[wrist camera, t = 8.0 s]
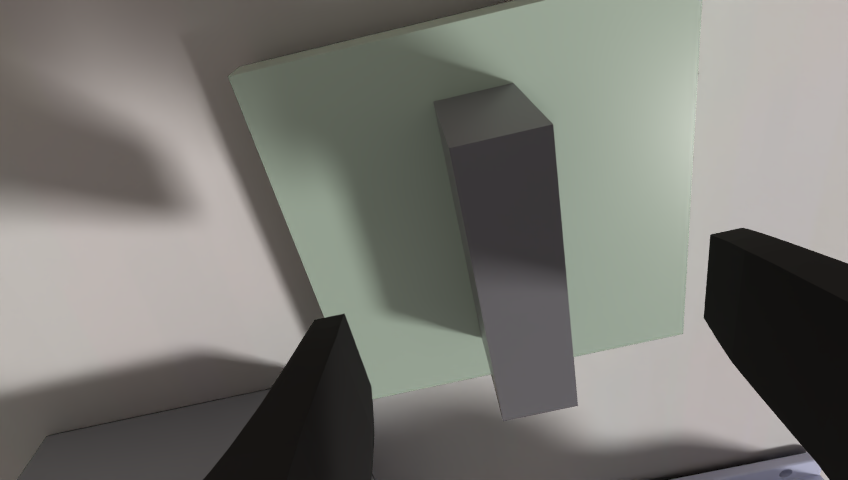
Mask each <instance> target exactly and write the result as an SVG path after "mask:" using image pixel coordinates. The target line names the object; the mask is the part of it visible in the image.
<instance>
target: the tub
mask: <svg viewBox="0 0 848 480" xmlns="http://www.w3.org/2000/svg"><path fill="white" fill-rule="evenodd" d="M269 391H270V389H268V390H264V391H259V392H254V393H249V394H245V395H240V396H235V397H230V398H226V399H221V400H216V401H211V402H207V403H202V404H197V405H192V406H188V407H183V408H178V409H174V410H169V411H164V412H159V413H155V414H150V415H145V416H140V417H136V418H131V419H126V420H121V421H117V422H112V423H107V424H103V425H98V426H93V427H88V428H84V429H79V430H74V431H69V432H65V433H60V434H55V435H50V436H47V437H46V438H45V439H44V441H43V442H42V444H41V445H40V447H39V448H38V450H37V451H36V453H35V454H34V456H33V457H32V459H31V460H30V462H29V463H28V464H27V466H26V467H25V469H24V470H23V472H22V473H21V475H20V476H19V478H18V479H17V480H203V479H204V478H205V477H206V475H207V474H208V473H209V472H210V471H211V470H212V468H213V467H214V466H215V465H216V463H217V462H218V461H219V460H220V458H221V457H222V456H223V455H224V453H225V452H226V451H227V450H228V448H229V447H230V446H231V444H232V443H233V442H234V440H235V439H236V438H237V436H238V435H239V433H240V432H241V431H242V429H243V428H244V427H245V425H246V424H247V422H248V421H249V420H250V418H251V417H252V416H253V414H254V413H255V411H256V410H257V409H258V407H259V406H260V404H261V403H262V401H263V400H264V398H265V397H266V395H267V394H268V392H269ZM371 480H374V478H373V476H372V479H371Z"/></svg>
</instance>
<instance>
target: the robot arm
mask: <svg viewBox="0 0 848 480" xmlns="http://www.w3.org/2000/svg"><path fill="white" fill-rule="evenodd" d="M704 319H705V320H706V322H707V324H708V325H709V327H710V329H711V330H712V332H713V333H714V335H715V337H716V338H717V340H718V342H719V343H720V345H721V346H722V348H723V349H724V351H725V352H726V354H727V355H728V357H729V358H730V360H731V361H732V363H733V364H734V365H735V366H736V368H737V369H738V370H739V371H740V373H741V374H742V375H743V376H744V377H745V379H746V380H747V381H748V382H749V383H750V385H751V386H752V387H753V388H754V389H755V391H756V392H757V393H758V394H759V395H760V397H761V398H762V399H763V400H764V401H765V402H766V404H767V405H768V406H769V407H770V408H771V410H772V411H773V412H774V413H775V414H776V415H777V417H778V418H779V419H780V420H781V421H782V423H783V424H784V425H785V426H786V427H787V428H788V430H789V431H790V432H791V433H792V434H793V436H794V437H795V438H796V439H797V440H798V441H799V443H800V444H801V445H802V446H803V447H804V449H805V450H806V451H807V452H808V453H802V454H797V455H792V456H787V457H782V458H777V459H772V460H767V461H762V462H757V463H752V464H747V465H741V466H736V467H731V468H726V469H721V470H716V471H711V472H706V473H701V474H696V475H691V476H686V477H681V478H675V479H670V480H824V479H823V478H822V477H821V475H820V472H821V469H822V470H823V472H824V473H825V474H826V475H827V477H828V478H829V479H830V480H848V263H845V262H842V261H839V260H836V259H834V258H831V257H828V256H825V255H822V254H820V253H817V252H814V251H811V250H808V249H806V248H803V247H800V246H797V245H794V244H792V243H789V242H786V241H783V240H780V239H777V238H774V237H772V236H768V235H765V234H762V233H759V232H756V231H753V230H749V229H745V228H739V229H735V230H730V231H725V232H721V233H716V234H711V235H710V247H709V260H708V272H707V285H706V297H705V310H704ZM373 448H374V418H373V401H372V387H371V384H370V381H369V378H368V376H367V373H366V370H365V368H364V365H363V362H362V359H361V357H360V354H359V351H358V349H357V346H356V343H355V340H354V338H353V335H352V332H351V329H350V327H349V324H348V321H347V319H346V316H345V313H344V314H340V315H335V316H330V317H326V318H321V319H317V320H314V322H313V323H312V325H311V326H310V328H309V330H308V331H307V333H306V334H305V336H304V337H303V339H302V340H301V342H300V344H299V345H298V347H297V348H296V350H295V352H294V353H293V355H292V357H291V358H290V360H289V361H288V363H287V364H286V366H285V368H284V369H283V371H282V372H281V374H280V375H279V377H278V378H277V380H276V381H275V383H274V385H273V386H272V388H271V389H270V391H269V392H268V394H267V395H266V397H265V398H264V400H263V401H262V403H261V404H260V406H259V407H258V409H257V410H256V411H255V413H254V414H253V416H252V417H251V418H250V420H249V421H248V422H247V424H246V425H245V427H244V428H243V429H242V431H241V432H240V433H239V435H238V436H237V438H236V439H235V440H234V442H233V443H232V444H231V446H230V447H229V448H228V450H227V451H226V452H225V453H224V455H223V456H222V457H221V458H220V460H219V461H218V462H217V463H216V465H215V466H214V467H213V468H212V470H211V471H210V472H209V473H208V474H207V475H206V477H205V478H204V479H203V480H371V479H372V464H373Z"/></svg>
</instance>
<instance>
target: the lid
mask: <svg viewBox="0 0 848 480" xmlns="http://www.w3.org/2000/svg"><path fill="white" fill-rule="evenodd" d="M701 12H702V0H514V1H510V2H506V3H501V4H497V5H493V6H489V7H485V8H481V9H477V10H472V11H468V12H464V13H460V14H456V15H452V16H448V17H443V18H439V19H435V20H431V21H427V22H423V23H419V24H414V25H410V26H406V27H402V28H398V29H394V30H389V31H385V32H381V33H377V34H373V35H369V36H365V37H360V38H356V39H352V40H348V41H344V42H340V43H336V44H331V45H327V46H323V47H319V48H315V49H311V50H307V51H302V52H298V53H294V54H290V55H286V56H282V57H278V58H273V59H269V60H265V61H261V62H257V63H253V64H249V65H244V66H240V67H238V68H237V69H236V70H235V71H234V72H233V73H231V74H230V75H229V76H228V78H229V81H230V83H231V86H232V88H233V91H234V93H235V96H236V98H237V101H238V103H239V106H240V108H241V111H242V113H243V116H244V118H245V121H246V123H247V126H248V128H249V131H250V133H251V136H252V138H253V141H254V143H255V146H256V148H257V151H258V153H259V156H260V158H261V161H262V163H263V166H264V168H265V171H266V173H267V176H268V178H269V181H270V183H271V186H272V188H273V191H274V193H275V196H276V198H277V201H278V203H279V206H280V208H281V211H282V213H283V216H284V218H285V221H286V223H287V226H288V228H289V231H290V233H291V236H292V238H293V241H294V243H295V246H296V248H297V251H298V253H299V256H300V258H301V261H302V263H303V266H304V268H305V271H306V273H307V276H308V278H309V281H310V283H311V286H312V288H313V291H314V293H315V296H316V298H317V301H318V303H319V306H320V308H321V311H322V313H323V316H324V318H326V317H330V316H335V315H340V314H344V313H345V316H346V319H347V321H348V324H349V327H350V329H351V332H352V335H353V338H354V340H355V343H356V346H357V349H358V351H359V354H360V357H361V359H362V362H363V365H364V368H365V370H366V373H367V376H368V378H369V381H370V384H371V387H372V399H377V398H381V397H386V396H391V395H396V394H400V393H405V392H410V391H415V390H419V389H424V388H429V387H434V386H438V385H443V384H448V383H453V382H457V381H462V380H467V379H472V378H476V377H481V376H486V375H491V376H492V380H493V384H494V387H495V391H496V395H497V399H498V403H499V407H500V411H501V415H502V418H503V421H506V420H511V419H516V418H521V417H526V416H531V415H535V414H540V413H545V412H550V411H555V410H560V409H564V408H569V407H574V406H578V402H577V391H576V380H575V368H574V357H576V356H581V355H585V354H590V353H595V352H600V351H604V350H609V349H614V348H619V347H623V346H628V345H633V344H638V343H642V342H647V341H652V340H657V339H661V338H666V337H671V336H676V335H680V334H683V327H684V309H685V292H686V274H687V257H688V239H689V222H690V204H691V187H692V169H693V152H694V134H695V117H696V99H697V82H698V64H699V47H700V29H701Z"/></svg>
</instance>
